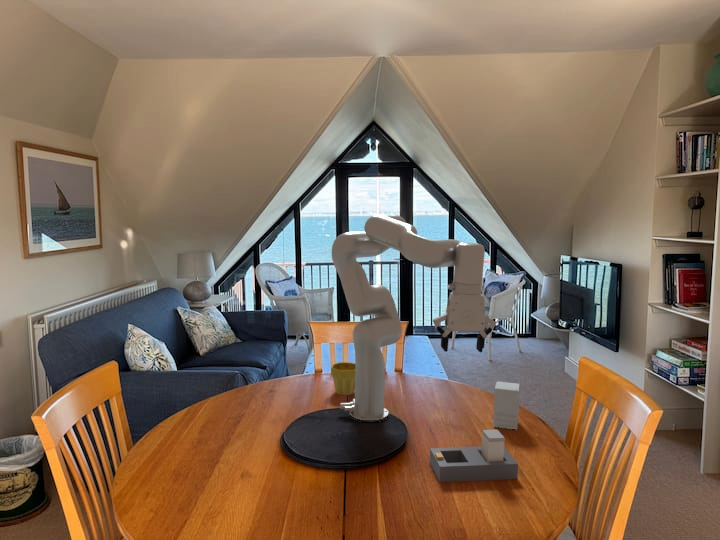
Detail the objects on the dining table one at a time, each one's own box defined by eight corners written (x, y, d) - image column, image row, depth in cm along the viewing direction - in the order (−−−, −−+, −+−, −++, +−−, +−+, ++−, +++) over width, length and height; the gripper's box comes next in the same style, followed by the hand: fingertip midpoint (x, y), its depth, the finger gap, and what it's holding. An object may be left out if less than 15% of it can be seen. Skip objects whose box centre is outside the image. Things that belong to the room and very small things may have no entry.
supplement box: (518, 421, 169) (520, 383, 167) (517, 430, 162) (519, 390, 160) (494, 418, 171) (496, 380, 170) (492, 427, 164) (494, 387, 163)
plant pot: (359, 397, 188) (359, 370, 186) (329, 396, 188) (330, 370, 187) (359, 387, 198) (360, 362, 197) (331, 387, 198) (332, 361, 197)
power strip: (439, 482, 131) (440, 464, 130) (429, 462, 141) (430, 446, 140) (517, 479, 133) (518, 461, 132) (502, 460, 143) (503, 443, 142)
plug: (487, 476, 134) (489, 438, 133) (480, 466, 139) (482, 429, 138) (502, 475, 135) (504, 437, 133) (495, 465, 140) (497, 429, 138)
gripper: (438, 290, 138) (434, 354, 140) (503, 292, 140) (497, 355, 142) (432, 285, 145) (427, 345, 148) (493, 287, 147) (488, 347, 149)
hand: (462, 350), depth 145 cm, fingers open, 9 cm apart
